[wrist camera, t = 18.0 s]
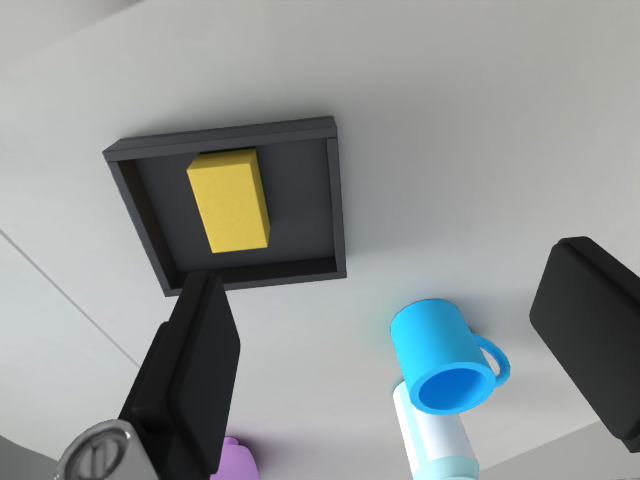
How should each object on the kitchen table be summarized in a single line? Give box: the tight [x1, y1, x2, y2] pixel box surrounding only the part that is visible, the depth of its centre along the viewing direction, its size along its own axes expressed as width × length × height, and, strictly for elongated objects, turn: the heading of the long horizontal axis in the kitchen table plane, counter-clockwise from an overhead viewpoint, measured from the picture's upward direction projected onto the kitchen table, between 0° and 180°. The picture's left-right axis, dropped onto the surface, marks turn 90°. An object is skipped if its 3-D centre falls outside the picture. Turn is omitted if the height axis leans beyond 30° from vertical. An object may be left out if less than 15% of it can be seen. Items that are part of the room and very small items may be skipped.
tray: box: [102, 116, 347, 297], centre depth 29 cm, size 14×17×3 cm
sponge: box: [187, 146, 271, 253], centre depth 28 cm, size 7×4×4 cm, turn 5°
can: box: [393, 380, 479, 480], centre depth 41 cm, size 7×7×12 cm
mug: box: [390, 299, 510, 415], centre depth 37 cm, size 12×8×8 cm
